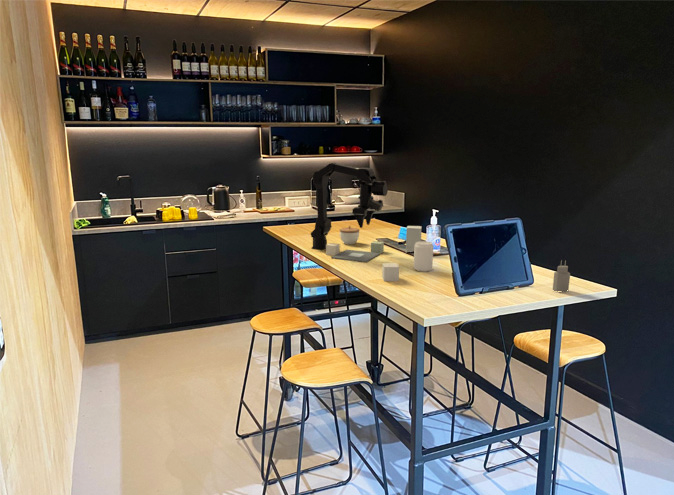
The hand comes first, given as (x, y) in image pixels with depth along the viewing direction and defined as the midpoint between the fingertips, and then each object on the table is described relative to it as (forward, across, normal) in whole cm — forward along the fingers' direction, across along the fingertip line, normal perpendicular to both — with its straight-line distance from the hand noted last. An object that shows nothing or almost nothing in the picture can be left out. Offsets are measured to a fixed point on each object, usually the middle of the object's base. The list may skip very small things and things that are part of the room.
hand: (364, 226), depth 246 cm
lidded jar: (+14, +19, +16) cm, 29 cm away
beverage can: (+13, -17, -34) cm, 41 cm away
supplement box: (+14, +15, -21) cm, 29 cm away
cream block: (+14, -8, +13) cm, 21 cm away
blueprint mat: (+14, -7, +1) cm, 15 cm away
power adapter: (+12, -24, -90) cm, 94 cm away
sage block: (+14, +6, -5) cm, 16 cm away
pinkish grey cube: (+14, -37, -26) cm, 47 cm away
